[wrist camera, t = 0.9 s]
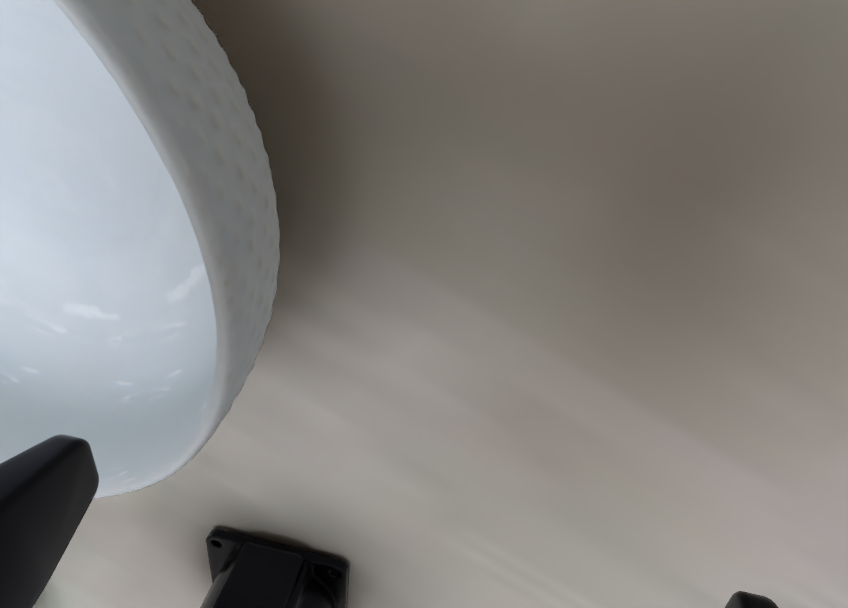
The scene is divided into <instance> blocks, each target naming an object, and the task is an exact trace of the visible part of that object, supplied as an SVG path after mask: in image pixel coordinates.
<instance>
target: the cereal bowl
mask: <svg viewBox="0 0 848 608" xmlns="http://www.w3.org/2000/svg"><path fill="white" fill-rule="evenodd" d="M279 240H280V231H279V220H278V215H277V209H276V194H275V190H274V187H273V181H272V175H271V170H270V167H269V157H268V155H267V153H266V151H265V149H264V146H263V140H262V133H261V131H260V129H259V128H258V127H257V124H256V120H255V115H254V112H253V111H252V110H251V108H250V106H249V104H248V101H247V96H246V92H245V89H244V88H243V87H242V85H241V84H240V83H239V79H238V76H237V73H236V72H235V71H234V69H233V68H232V67H231V65H230V63H229V60H228V57H227V54H226V53H225V51H224V50H223V49H222V48H221V46H220V45H219V43H218V41H217V39H216V36H215V34H214V33H213V32H212V31H211V30H210V29H209V27H208V26H207V25H206V22H205V20H204V18H203V15H202V14H201V13H200V12H199V10H198V9H197V8H196V7H195V6H194V5H193V3H192V1H191V0H0V463H2V462H4V461H6V460H8V459H10V458H12V457H14V456H16V455H18V454H20V453H22V452H23V451H25V450H27V449H29V448H31V447H33V446H35V445H37V444H39V443H41V442H43V441H45V440H47V439H48V438H50V437H53V436H55V435H60V434H63V435H69V436H73V437H78V438H82V439H85V440H86V441H87V442H88V443H89V444H90V447H91V450H92V454H93V457H94V461H95V464H96V468H97V471H98V475H99V484H98V488H97V491H96V494H95V496H94V498H102V497H110V496H115V495H120V494H124V493H129V492H132V491H136V490H139V489H142V488H145V487H147V486H150V485H153V484H155V483H157V482H159V481H161V480H163V479H165V478H167V477H169V476H170V475H172V474H174V473H175V472H176V471H178V470H179V469H180V468H182V467H183V466H184V465H185V464H187V463H188V462H189V461H190V460H191V459H192V458H193V457H194V456H195V455H196V454H197V453H198V452H199V451H200V450H201V448H202V447H203V446H204V445H205V444H206V442H207V441H208V440H209V439H210V438H211V436H212V435H213V434H214V432H215V431H216V429H217V427H218V426H219V424H220V423H221V421H222V420H223V418H224V417H225V416H226V414H227V413H228V411H229V410H230V408H231V406H232V403H233V401H234V399H235V398H236V396H237V395H238V394H239V392H240V391H241V389H242V387H243V385H244V382H245V379H246V377H247V376H248V374H249V373H250V371H251V370H252V368H253V367H254V364H255V360H256V356H257V352H258V351H259V349H260V347H261V345H262V344H263V342H264V336H265V331H266V327H267V325H268V323H269V321H270V319H271V313H272V303H273V300H274V298H275V295H276V292H277V273H278V268H279V262H280V252H279ZM94 498H93V499H94Z"/></svg>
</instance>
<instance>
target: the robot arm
mask: <svg viewBox="0 0 848 608" xmlns="http://www.w3.org/2000/svg"><path fill="white" fill-rule="evenodd" d="M98 484H99V475H98V471H97V468H96V464H95V461H94V457H93V454H92V450H91V447H90V444H89V443H88V442H87V441H86V440H85V439H82V438H78V437H73V436H69V435H63V434H60V435H55V436H53V437H50V438H48V439H47V440H45V441H43V442H41V443H39V444H37V445H35V446H33V447H31V448H29V449H27V450H25V451H23V452H22V453H20V454H18V455H16V456H14V457H12V458H10V459H8V460H6V461H4V462H2V463H0V608H32V607H33V605H34V604H35V602H36V601H37V599H38V598H39V596H40V594H41V593H42V591H43V590H44V588H45V586H46V584H47V583H48V581H49V579H50V577H51V576H52V574H53V572H54V570H55V568H56V566H57V565H58V563H59V561H60V559H61V557H62V555H63V553H64V552H65V550H66V548H67V546H68V544H69V542H70V540H71V538H72V537H73V535H74V533H75V531H76V529H77V527H78V525H79V524H80V522H81V520H82V518H83V516H84V514H85V512H86V511H87V509H88V507H89V505H90V503H91V501H92V499H93V498H94V496H95V494H96V491H97V488H98ZM206 543H207V550H208V556H209V563H210V569H211V575H212V582H213V584H212V586H211V588H210V590H209V592H208V594H207V596H206V598H205V600H204V602H203V603H202V605H201V607H200V608H347V600H348V581H349V566H348V565H347V564H346V563H345V562H344V561H342V560H339V559H335V558H331V557H327V556H323V555H319V554H316V553H312V552H308V551H304V550H300V549H296V548H292V547H288V546H284V545H280V544H276V543H272V542H268V541H264V540H260V539H256V538H252V537H248V536H244V535H240V534H236V533H233V532H229V531H225V530H221V529H213V530H212V531H211V532H210V533H209V535H208V537H207V539H206ZM725 608H778V606H777V605H776V604H775V603H774V602H773V601H772V600H771V599H769V598H767V597H764V596H760V595H756V594H751V593H747V592H743V591H738V592H736V593H734V594H733V595H732V597H731V598H730V600H729V602H728V603H727V605H726V606H725Z"/></svg>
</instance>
